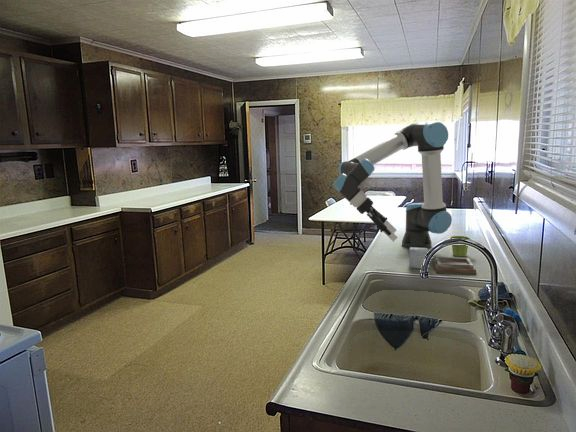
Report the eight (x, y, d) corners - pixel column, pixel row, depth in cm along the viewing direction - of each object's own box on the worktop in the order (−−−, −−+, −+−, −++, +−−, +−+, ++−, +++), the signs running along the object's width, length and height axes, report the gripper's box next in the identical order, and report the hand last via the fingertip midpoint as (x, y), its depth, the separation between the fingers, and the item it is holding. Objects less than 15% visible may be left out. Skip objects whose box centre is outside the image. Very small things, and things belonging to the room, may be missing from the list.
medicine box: (427, 266, 192) (427, 247, 191) (427, 269, 188) (428, 250, 187) (409, 265, 195) (409, 247, 193) (409, 268, 190) (409, 249, 189)
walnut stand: (432, 262, 197) (432, 255, 196) (469, 264, 193) (469, 256, 193) (436, 272, 183) (436, 265, 183) (475, 274, 180) (476, 266, 179)
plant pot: (445, 255, 208) (446, 238, 206) (455, 251, 214) (456, 234, 212) (463, 259, 201) (464, 241, 199) (473, 255, 206) (474, 238, 205)
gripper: (357, 203, 204) (388, 234, 204) (353, 213, 180) (389, 248, 180) (368, 192, 202) (400, 223, 202) (366, 201, 178) (402, 236, 178)
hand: (395, 235), depth 191 cm, fingers open, 13 cm apart
